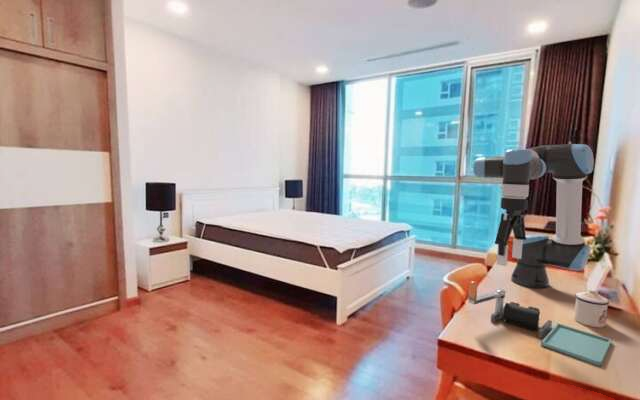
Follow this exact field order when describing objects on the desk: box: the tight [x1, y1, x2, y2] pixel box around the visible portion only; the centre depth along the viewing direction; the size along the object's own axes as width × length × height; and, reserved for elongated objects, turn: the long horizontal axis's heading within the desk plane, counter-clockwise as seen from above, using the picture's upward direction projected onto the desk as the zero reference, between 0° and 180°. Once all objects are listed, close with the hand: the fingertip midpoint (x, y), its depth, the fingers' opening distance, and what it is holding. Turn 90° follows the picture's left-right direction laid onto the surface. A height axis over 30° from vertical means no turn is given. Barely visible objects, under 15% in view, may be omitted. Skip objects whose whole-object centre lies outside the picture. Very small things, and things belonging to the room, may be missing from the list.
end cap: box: [502, 301, 541, 331], centre depth 114 cm, size 10×7×7 cm
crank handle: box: [467, 280, 506, 305], centre depth 114 cm, size 3×18×8 cm, turn 120°
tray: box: [540, 323, 612, 368], centre depth 102 cm, size 19×14×1 cm
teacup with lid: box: [573, 289, 610, 328], centre depth 118 cm, size 12×9×12 cm
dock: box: [490, 297, 553, 340], centre depth 114 cm, size 11×16×8 cm
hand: (509, 261), depth 110 cm, fingers open, 13 cm apart
